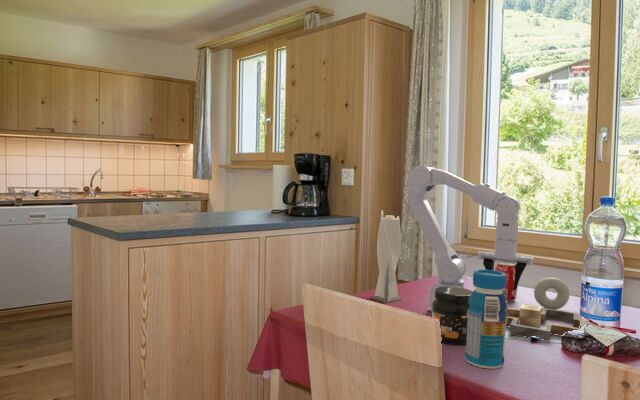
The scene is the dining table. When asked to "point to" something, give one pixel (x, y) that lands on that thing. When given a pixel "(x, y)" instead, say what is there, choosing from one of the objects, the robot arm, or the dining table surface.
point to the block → (530, 316)
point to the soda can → (508, 279)
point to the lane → (545, 313)
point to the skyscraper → (388, 258)
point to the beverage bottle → (487, 320)
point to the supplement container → (452, 313)
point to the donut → (555, 284)
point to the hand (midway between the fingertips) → (503, 287)
